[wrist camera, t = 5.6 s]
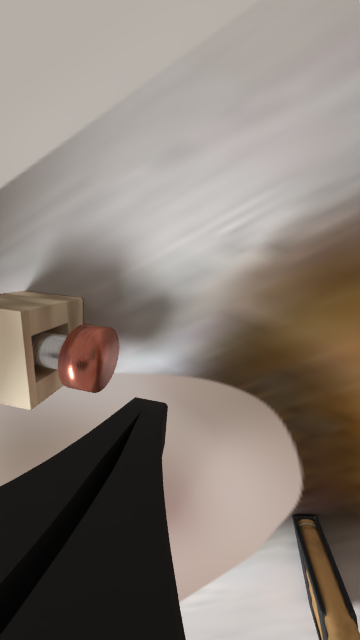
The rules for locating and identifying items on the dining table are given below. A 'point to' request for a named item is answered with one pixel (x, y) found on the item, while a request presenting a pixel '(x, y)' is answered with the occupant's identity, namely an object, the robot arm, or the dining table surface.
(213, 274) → the dining table surface
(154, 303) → the dining table surface
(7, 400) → the bearing block
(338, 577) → the ammunition clip
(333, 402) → the dining table surface
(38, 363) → the shaft
